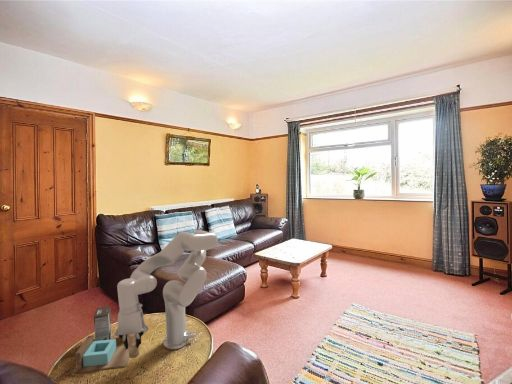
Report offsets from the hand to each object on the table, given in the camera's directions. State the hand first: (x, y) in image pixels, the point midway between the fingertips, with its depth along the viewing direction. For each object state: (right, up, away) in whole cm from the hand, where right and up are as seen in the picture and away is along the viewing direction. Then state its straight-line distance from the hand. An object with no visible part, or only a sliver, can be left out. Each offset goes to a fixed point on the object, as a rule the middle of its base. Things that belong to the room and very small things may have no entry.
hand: (133, 346), depth 114 cm
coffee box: (-24, -9, +18) cm, 31 cm away
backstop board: (-15, -9, +6) cm, 19 cm away
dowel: (0, -4, 0) cm, 4 cm away
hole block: (-18, -9, +5) cm, 21 cm away
